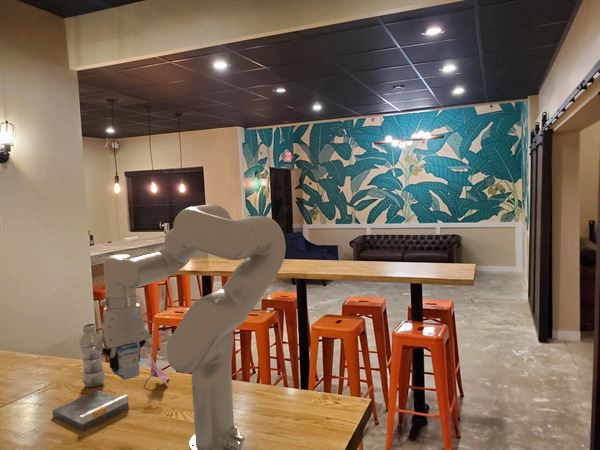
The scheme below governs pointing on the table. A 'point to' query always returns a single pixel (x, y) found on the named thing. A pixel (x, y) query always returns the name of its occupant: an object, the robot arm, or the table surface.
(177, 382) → the table surface
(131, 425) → the table surface
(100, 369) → the plastic bottle
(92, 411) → the white-edged grey panel
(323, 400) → the table surface
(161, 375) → the lily
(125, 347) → the medicine box
